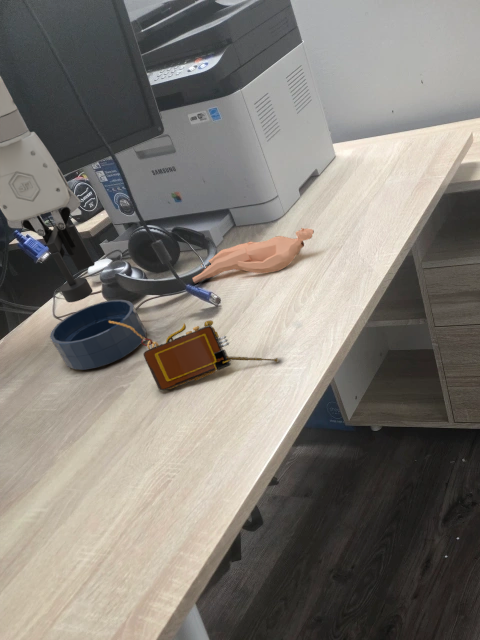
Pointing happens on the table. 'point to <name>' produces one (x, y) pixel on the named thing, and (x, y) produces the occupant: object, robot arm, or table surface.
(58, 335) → the bowl
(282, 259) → the male figurine
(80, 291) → the articulated desk lamp
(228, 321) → the table surface
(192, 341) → the brown box with rod
